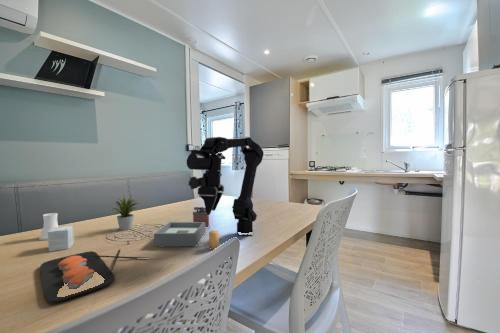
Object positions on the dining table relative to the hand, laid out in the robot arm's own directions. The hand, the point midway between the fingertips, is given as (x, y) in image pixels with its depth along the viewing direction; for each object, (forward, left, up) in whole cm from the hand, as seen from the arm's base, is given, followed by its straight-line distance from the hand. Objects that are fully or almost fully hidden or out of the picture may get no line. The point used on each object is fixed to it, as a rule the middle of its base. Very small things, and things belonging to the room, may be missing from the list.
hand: (211, 212), depth 87 cm
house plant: (+45, -22, -14) cm, 52 cm away
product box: (+57, 0, -14) cm, 59 cm away
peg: (-1, 0, -13) cm, 13 cm away
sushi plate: (+30, +15, -14) cm, 37 cm away
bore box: (+14, -9, -13) cm, 21 cm away
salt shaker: (+71, -11, -14) cm, 73 cm away
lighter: (+10, -26, -14) cm, 31 cm away
